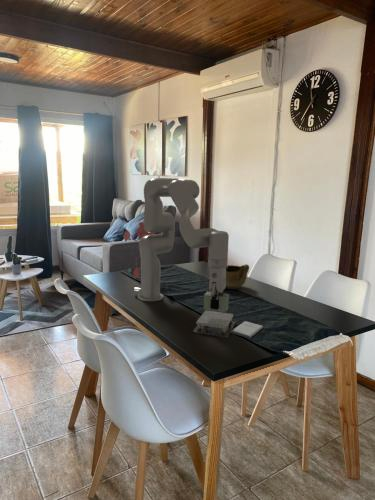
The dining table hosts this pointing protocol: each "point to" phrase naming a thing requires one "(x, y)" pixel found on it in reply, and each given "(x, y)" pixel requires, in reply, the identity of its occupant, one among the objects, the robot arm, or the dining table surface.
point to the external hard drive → (247, 329)
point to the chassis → (215, 324)
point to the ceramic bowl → (236, 276)
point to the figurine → (140, 233)
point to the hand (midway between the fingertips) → (216, 306)
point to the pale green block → (222, 299)
